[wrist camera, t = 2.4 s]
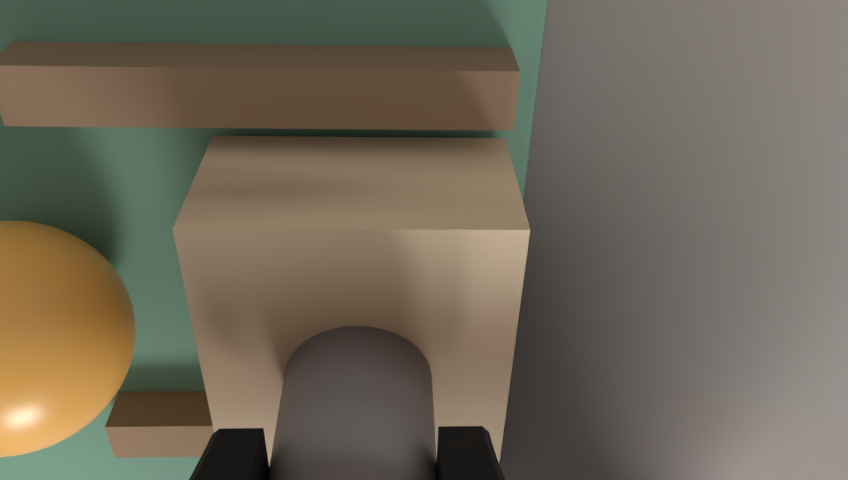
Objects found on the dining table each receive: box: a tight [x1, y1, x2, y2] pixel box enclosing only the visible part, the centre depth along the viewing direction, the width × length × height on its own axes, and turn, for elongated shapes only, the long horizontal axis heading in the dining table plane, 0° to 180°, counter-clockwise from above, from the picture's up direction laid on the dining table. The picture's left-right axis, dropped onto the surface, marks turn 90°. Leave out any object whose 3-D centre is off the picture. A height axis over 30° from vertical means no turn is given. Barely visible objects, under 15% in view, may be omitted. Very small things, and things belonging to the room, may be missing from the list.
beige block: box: [172, 136, 530, 480], centre depth 11 cm, size 6×5×8 cm
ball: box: [0, 220, 136, 457], centre depth 13 cm, size 4×4×4 cm
